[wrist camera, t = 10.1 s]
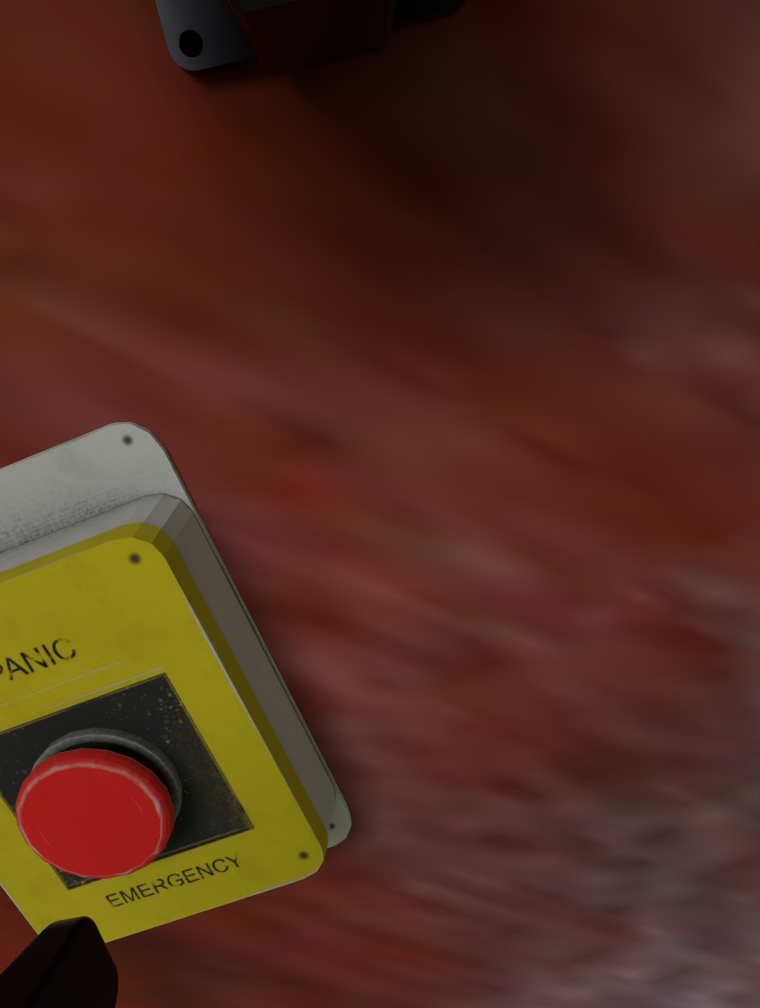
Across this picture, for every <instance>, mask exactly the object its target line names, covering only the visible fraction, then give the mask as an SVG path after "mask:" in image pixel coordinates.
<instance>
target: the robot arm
mask: <svg viewBox="0 0 760 1008" xmlns="http://www.w3.org/2000/svg"><path fill="white" fill-rule="evenodd" d="M155 2H156V6H157V9H158V13H159V17H160V21H161V24H162V28H163V32H164V35H165V39H166V43H167V47H168V50H169V52H170V54H171V56H172V59H173V60H174V61H175V62H176V63H177V64H178V65H179V66H180V67H181V68H182V69H183V70H184V71H185V72H187V73H189V74H191V75H206V74H210V73H214V72H218V71H222V70H226V69H231V68H235V67H239V66H243V65H247V64H252V63H256V62H259V64H260V66H261V67H262V68H264V69H265V70H266V71H268V72H269V73H271V74H272V75H279V74H284V73H288V72H292V71H296V70H300V69H305V68H309V67H313V66H317V65H321V64H326V63H330V62H334V61H338V60H342V59H347V58H351V57H355V56H359V55H363V54H368V53H372V52H376V51H380V50H382V49H384V47H385V45H386V44H387V42H388V40H389V38H390V36H391V34H392V30H394V29H398V28H402V27H406V26H410V25H415V24H419V23H423V22H427V21H431V20H436V19H440V18H444V17H448V16H451V15H453V14H455V13H457V12H458V11H459V10H460V9H461V7H462V6H463V5H464V3H465V0H155ZM190 36H199V37H200V38H202V40H203V49H202V51H201V54H200V55H198V56H197V57H195V58H193V57H187V56H186V55H185V53H184V43H185V41H186V39H187V38H189V37H190ZM117 994H118V973H117V969H116V965H115V963H114V961H113V959H112V957H111V955H110V952H109V950H108V948H107V946H106V944H105V942H104V940H103V938H102V936H101V933H100V931H99V929H98V927H97V925H96V923H95V922H94V920H92V919H91V918H90V917H88V916H81V917H75V918H70V919H65V920H59V921H55V922H53V923H51V924H49V925H48V926H47V927H46V928H45V929H44V930H42V931H41V933H40V934H39V935H38V936H37V937H36V938H35V939H34V940H33V941H32V942H31V943H30V944H29V945H28V946H27V947H26V948H25V949H24V950H23V951H22V952H21V954H20V955H19V956H18V957H17V958H16V959H15V960H14V961H13V962H12V963H11V964H10V965H9V966H8V967H7V968H6V969H5V970H4V971H3V972H2V973H1V974H0V1008H115V1006H116V1000H117Z"/></svg>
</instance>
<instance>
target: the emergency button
mask: <svg viewBox="0 0 760 1008" xmlns="http://www.w3.org/2000/svg"><path fill="white" fill-rule="evenodd" d="M351 826H352V821H351V816H350V811H349V807H348V805H347V803H346V801H345V800H344V798H343V796H342V794H341V792H340V790H339V788H338V786H337V784H336V782H335V780H334V778H333V776H332V774H331V772H330V770H329V768H328V766H327V764H326V762H325V760H324V758H323V756H322V754H321V753H320V751H319V749H318V747H317V745H316V743H315V741H314V739H313V737H312V735H311V733H310V731H309V729H308V727H307V725H306V723H305V721H304V719H303V717H302V715H301V713H300V711H299V709H298V707H297V706H296V704H295V702H294V700H293V698H292V696H291V694H290V692H289V690H288V688H287V686H286V684H285V682H284V680H283V678H282V676H281V674H280V672H279V670H278V668H277V666H276V664H275V662H274V660H273V658H272V657H271V655H270V653H269V651H268V649H267V647H266V645H265V643H264V641H263V639H262V637H261V635H260V633H259V631H258V629H257V627H256V625H255V623H254V621H253V619H252V617H251V615H250V613H249V611H248V610H247V608H246V606H245V604H244V602H243V600H242V598H241V596H240V594H239V592H238V590H237V588H236V586H235V584H234V582H233V580H232V578H231V576H230V574H229V572H228V570H227V568H226V566H225V564H224V563H223V561H222V559H221V557H220V555H219V553H218V551H217V549H216V547H215V545H214V543H213V541H212V539H211V537H210V535H209V533H208V531H207V529H206V527H205V525H204V523H203V521H202V519H201V517H200V515H199V514H198V512H197V510H196V508H195V506H194V504H193V502H192V500H191V498H190V496H189V494H188V492H187V490H186V488H185V486H184V484H183V482H182V480H181V478H180V476H179V474H178V472H177V470H176V468H175V467H174V465H173V463H172V461H171V459H170V457H169V455H168V453H167V451H166V449H165V448H164V446H163V445H162V444H161V443H160V441H159V440H158V439H157V438H156V437H155V435H154V434H153V433H152V432H151V431H150V430H148V429H146V428H144V427H142V426H139V425H137V424H135V423H133V422H121V423H112V424H109V425H107V426H104V427H102V428H99V429H97V430H94V431H92V432H89V433H87V434H85V435H82V436H80V437H77V438H75V439H72V440H70V441H67V442H65V443H62V444H60V445H57V446H55V447H53V448H50V449H48V450H45V451H43V452H40V453H38V454H35V455H33V456H30V457H28V458H25V459H23V460H20V461H18V462H16V463H13V464H11V465H8V466H6V467H3V468H1V469H0V885H1V886H2V888H3V889H4V890H5V892H6V893H7V894H8V896H9V897H10V898H11V900H12V901H13V902H14V904H15V905H16V906H17V907H18V909H19V910H20V911H21V913H22V914H23V915H24V917H25V918H26V919H27V921H28V922H29V923H30V925H31V926H32V927H33V928H34V930H35V931H36V932H37V934H38V935H39V934H40V933H41V931H42V930H44V929H45V928H46V927H47V926H48V925H49V924H51V923H53V922H55V921H59V920H65V919H70V918H75V917H81V916H88V917H90V918H91V919H92V920H94V922H95V923H96V925H97V927H98V929H99V931H100V933H101V936H102V938H103V940H104V942H105V943H106V942H109V941H112V940H115V939H119V938H122V937H125V936H128V935H131V934H134V933H137V932H140V931H143V930H147V929H150V928H153V927H156V926H159V925H162V924H165V923H168V922H171V921H175V920H178V919H181V918H184V917H187V916H190V915H193V914H196V913H199V912H203V911H206V910H209V909H212V908H215V907H218V906H221V905H224V904H227V903H231V902H234V901H237V900H240V899H243V898H246V897H249V896H252V895H255V894H259V893H262V892H265V891H268V890H271V889H274V888H277V887H280V886H283V885H287V884H290V883H293V882H296V881H299V880H302V879H305V878H306V877H308V876H310V875H312V874H313V873H315V872H317V871H318V869H319V867H320V866H321V864H322V862H323V861H324V857H325V853H326V850H327V848H330V847H333V846H335V845H337V844H338V843H340V842H341V841H343V840H344V839H346V838H347V835H348V833H349V831H350V828H351Z"/></svg>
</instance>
